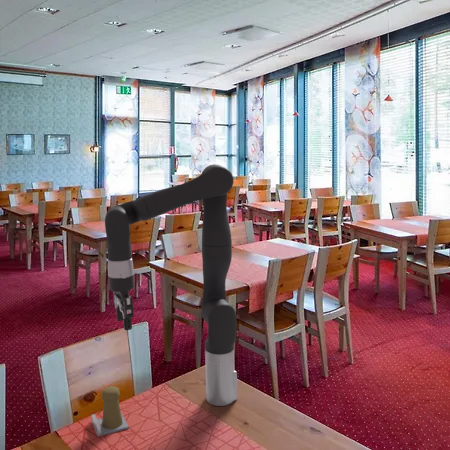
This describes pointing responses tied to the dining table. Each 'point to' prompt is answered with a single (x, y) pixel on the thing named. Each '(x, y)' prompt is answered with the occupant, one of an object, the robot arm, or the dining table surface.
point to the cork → (111, 408)
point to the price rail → (96, 425)
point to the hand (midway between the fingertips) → (124, 324)
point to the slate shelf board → (107, 431)
